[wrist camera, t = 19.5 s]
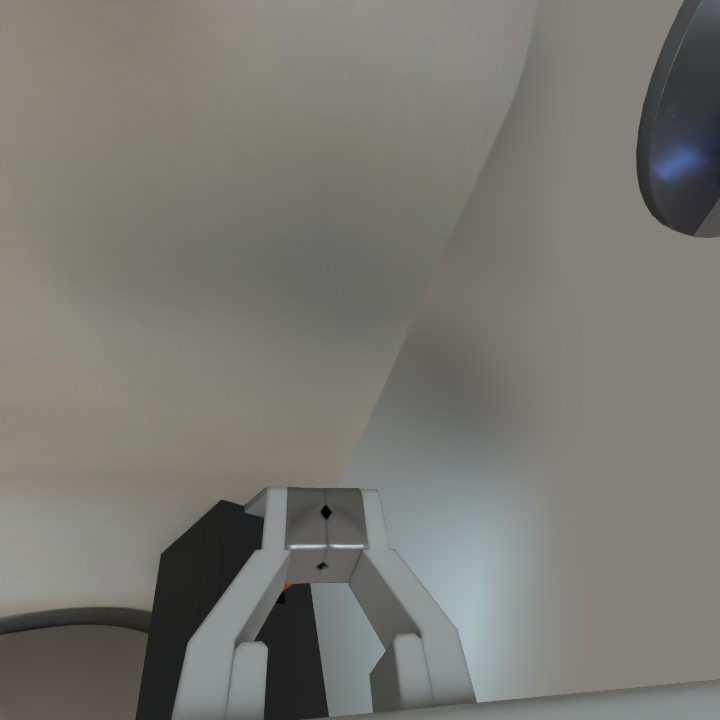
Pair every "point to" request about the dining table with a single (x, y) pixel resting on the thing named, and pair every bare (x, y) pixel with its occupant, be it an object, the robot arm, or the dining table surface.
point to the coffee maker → (201, 593)
